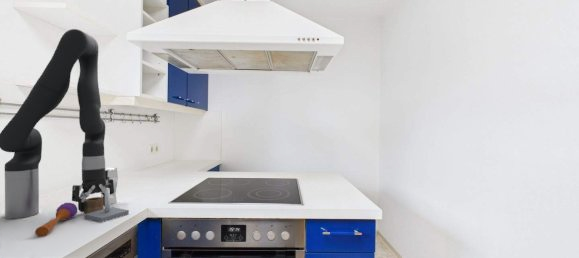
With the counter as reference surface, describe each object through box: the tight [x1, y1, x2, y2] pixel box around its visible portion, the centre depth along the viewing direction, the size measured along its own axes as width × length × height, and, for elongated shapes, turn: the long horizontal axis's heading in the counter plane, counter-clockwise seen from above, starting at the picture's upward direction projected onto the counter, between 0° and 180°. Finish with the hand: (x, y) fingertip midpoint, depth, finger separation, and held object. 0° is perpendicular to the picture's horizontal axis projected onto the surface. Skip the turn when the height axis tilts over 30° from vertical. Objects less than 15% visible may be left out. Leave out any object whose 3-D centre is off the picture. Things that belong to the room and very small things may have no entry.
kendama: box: [34, 202, 78, 238], centre depth 94 cm, size 6×6×20 cm
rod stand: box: [84, 188, 130, 223], centre depth 104 cm, size 10×10×11 cm
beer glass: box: [100, 167, 119, 205], centre depth 121 cm, size 7×7×15 cm
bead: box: [83, 196, 105, 215], centre depth 109 cm, size 6×6×5 cm
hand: (94, 208), depth 109 cm, fingers open, 8 cm apart
